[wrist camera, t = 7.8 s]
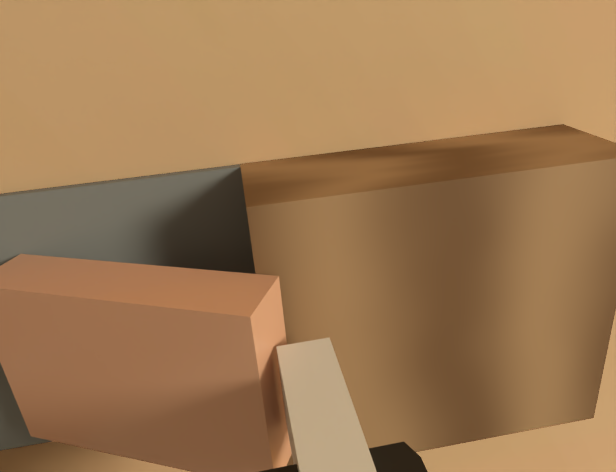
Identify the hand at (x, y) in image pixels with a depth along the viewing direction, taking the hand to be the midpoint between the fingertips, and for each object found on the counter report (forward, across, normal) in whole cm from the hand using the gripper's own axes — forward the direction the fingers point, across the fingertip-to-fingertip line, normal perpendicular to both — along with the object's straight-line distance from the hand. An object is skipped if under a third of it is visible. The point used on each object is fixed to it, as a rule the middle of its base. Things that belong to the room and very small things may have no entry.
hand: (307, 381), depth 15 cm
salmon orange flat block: (+3, -4, 0) cm, 5 cm away
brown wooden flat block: (+5, +5, 0) cm, 7 cm away
